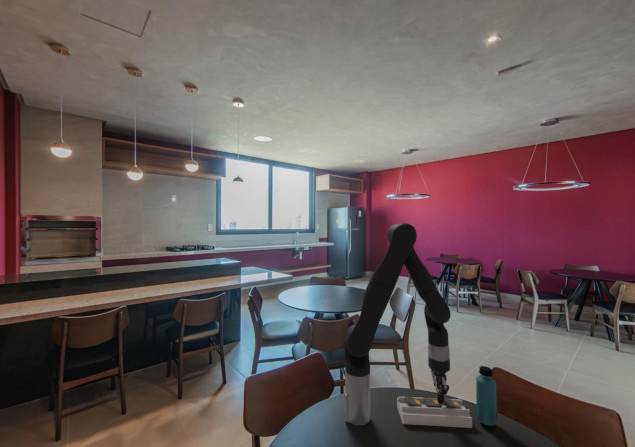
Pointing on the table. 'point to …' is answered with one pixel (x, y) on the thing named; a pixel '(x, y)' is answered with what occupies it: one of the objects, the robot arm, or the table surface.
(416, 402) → the left rocker
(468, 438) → the table surface
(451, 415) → the power strip
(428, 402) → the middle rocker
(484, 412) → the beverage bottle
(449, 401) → the right rocker
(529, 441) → the table surface
